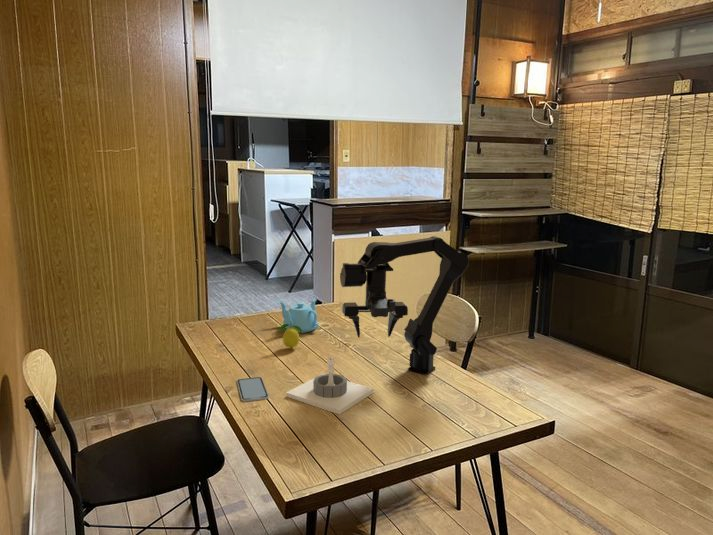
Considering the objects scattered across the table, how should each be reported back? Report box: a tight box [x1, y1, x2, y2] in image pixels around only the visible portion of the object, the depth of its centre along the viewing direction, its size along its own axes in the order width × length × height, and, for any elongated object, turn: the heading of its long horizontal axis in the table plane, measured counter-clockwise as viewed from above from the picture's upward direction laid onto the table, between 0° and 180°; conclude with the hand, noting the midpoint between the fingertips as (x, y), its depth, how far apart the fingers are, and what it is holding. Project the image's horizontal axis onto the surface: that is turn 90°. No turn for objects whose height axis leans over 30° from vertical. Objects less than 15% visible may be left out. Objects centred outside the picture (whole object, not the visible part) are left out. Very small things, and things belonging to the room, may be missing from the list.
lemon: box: [278, 323, 303, 350], centre depth 181 cm, size 7×6×10 cm
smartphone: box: [236, 376, 270, 403], centre depth 150 cm, size 7×1×15 cm
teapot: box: [278, 298, 319, 334], centre depth 203 cm, size 15×15×10 cm
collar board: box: [285, 373, 374, 415], centre depth 147 cm, size 18×16×4 cm
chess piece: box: [326, 355, 335, 386], centre depth 146 cm, size 5×5×10 cm
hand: (373, 336), depth 159 cm, fingers open, 9 cm apart
